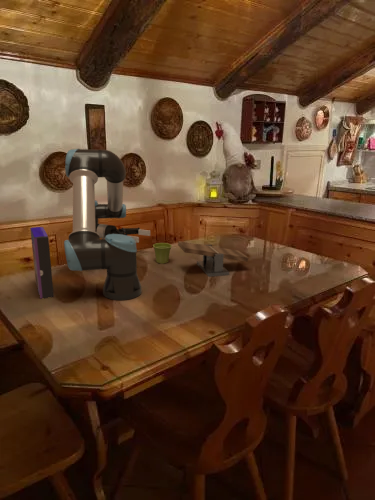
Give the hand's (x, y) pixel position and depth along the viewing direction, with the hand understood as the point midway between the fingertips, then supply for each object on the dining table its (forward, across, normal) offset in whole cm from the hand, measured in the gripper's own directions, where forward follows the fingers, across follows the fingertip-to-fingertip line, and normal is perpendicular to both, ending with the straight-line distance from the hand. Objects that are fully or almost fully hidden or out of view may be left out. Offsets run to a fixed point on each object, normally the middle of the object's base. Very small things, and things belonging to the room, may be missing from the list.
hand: (144, 236), depth 181 cm
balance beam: (+36, +2, -4) cm, 36 cm away
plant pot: (+10, +1, -12) cm, 16 cm away
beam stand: (+36, +2, -12) cm, 38 cm away
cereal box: (-20, +51, -12) cm, 56 cm away
